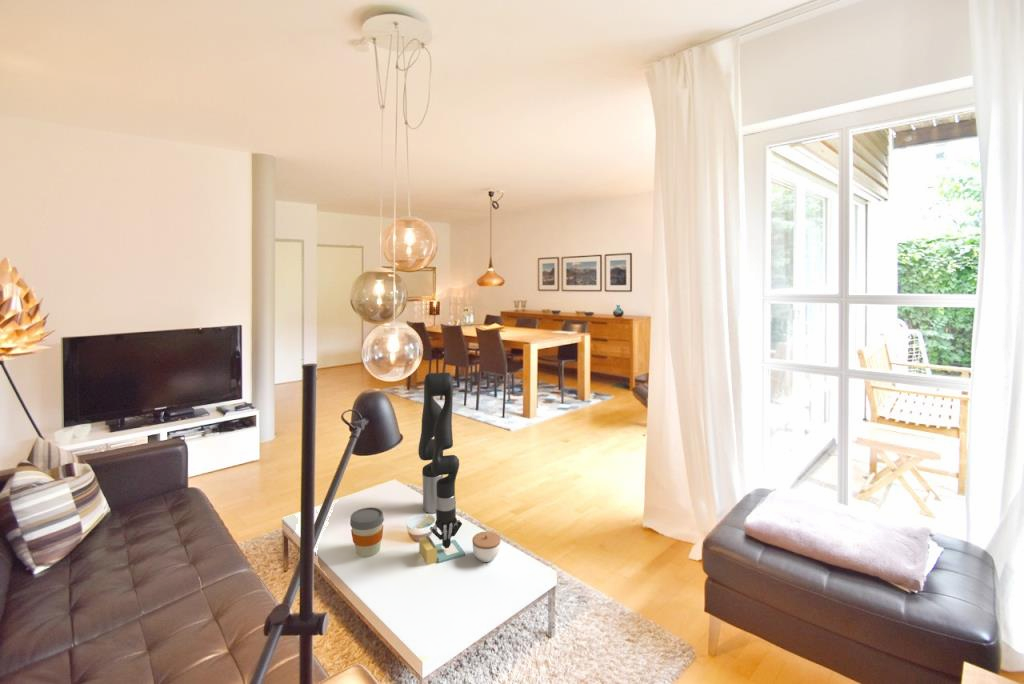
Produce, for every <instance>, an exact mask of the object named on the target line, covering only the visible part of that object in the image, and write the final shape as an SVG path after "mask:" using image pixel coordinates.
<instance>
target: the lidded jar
mask: <svg viewBox="0 0 1024 684" xmlns="http://www.w3.org/2000/svg"><path fill="white" fill-rule="evenodd" d="M471 543H472V550H473V553H474V555H475V557H476V558H477V560H479V561H480V562H483V563H489V562H492V561H493V560H494V559H495V558H496V557H497V556H498V554H499V552H500V550H501V548H500V547H501V537H500V535H499V534H497V533H496V532H493V531H481V532H478V533H475V534H474V535H473V537H472V541H471Z"/></svg>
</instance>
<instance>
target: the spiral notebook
mask: <svg viewBox="0 0 1024 684" xmlns="http://www.w3.org/2000/svg"><path fill="white" fill-rule="evenodd" d="M450 541H451V545H450V546H449V548H446V549H445V547H444V546H443V545H442V542H441V543H438V544H435V545H436V547H437V563H438V564H441V563H444V561H445V562H448V561H452V560H454V558H455V559H458V558H461V556H462V557H465V556H466V554H467V553H466V552H465V550H464V549H463V548H462V546H460V544H459V542H458V541H457V540H456V539H452V540H451V539H450Z"/></svg>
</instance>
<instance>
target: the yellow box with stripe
mask: <svg viewBox="0 0 1024 684" xmlns="http://www.w3.org/2000/svg"><path fill="white" fill-rule="evenodd" d="M436 545H437V544H436V543H434V541H433V540H432V538H431V536H430V535H426V536H423V537H420V538H419V539H418V550H419V551H418V552H419V554H420V556H421V558H422V560H423V561H424V563H425V564H426V566H428V565H432V564H435V563H438V561H437V547H436Z"/></svg>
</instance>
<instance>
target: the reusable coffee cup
mask: <svg viewBox="0 0 1024 684" xmlns="http://www.w3.org/2000/svg"><path fill="white" fill-rule="evenodd" d="M384 521H385V518H384V512H383V510H382V509H380V508H378V507H362V508H360V509H357V510H355V511H354V512H353V513H351V515H350V522H349V525H350V527H351V530H350V531H351V533H350V534H351V538H352V543H353V544H354V547H355V553H356V555H357V556H358V557H361V558H370V557H373V556H375V555H377V554H378V553H379V552H380V551H381V543H382V539H383V534H384V533H383V532H384V524H383V523H384Z"/></svg>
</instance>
